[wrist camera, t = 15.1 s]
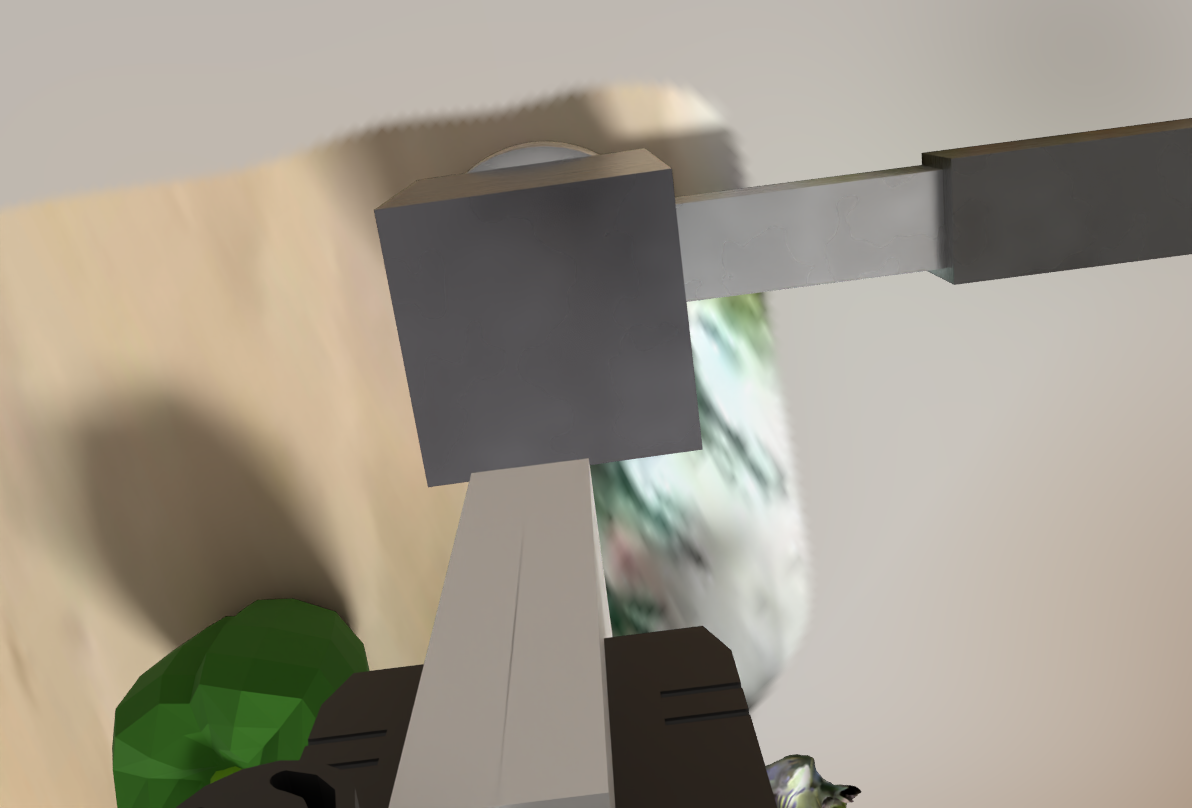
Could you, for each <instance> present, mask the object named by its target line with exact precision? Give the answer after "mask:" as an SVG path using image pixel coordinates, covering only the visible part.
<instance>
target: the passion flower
mask: <svg viewBox="0 0 1192 808" xmlns="http://www.w3.org/2000/svg"><path fill="white" fill-rule="evenodd" d="M765 767H766V771H767V774H768V777H769V781H770V784H771V788H772V791H773V794H774V798H775V801H776V805H777V808H846V805H847V803H848V802H853V800H852V799H853V798H855V796H857V795H858V794H859V793H861V791H860V789H858V788H857V787H855V786H851V785H833V784H832V783H831V782H828V781H826V780H825V779H823V778H822V777H821V776H820V775H819V773H818V772H817V771H816V768H815V762H814V759H813V758H812V757H810V756H808V755H807V756H806V755H798V754H796V755H789V756H786V757H784V758H783V759H781V760H779V761H776V762H774V763H772V764H770V765H767V766H765Z"/></svg>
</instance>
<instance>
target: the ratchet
mask: <svg viewBox="0 0 1192 808" xmlns="http://www.w3.org/2000/svg"><path fill="white" fill-rule="evenodd" d="M593 155H600V154H598V153H596V152H594V151H592V150H589V149H586V148H583V147H580V146H578V145H573V144H568V143H563V142H551V141H541V142H529V143H524V144H519V145H515V146H512V147H509V148H506V149H503V150H500V151H498V152H496V153H494V154H492V155H490V156H488V157H486V158H485V159H483V160H482V161H481V162H479V163H478V164H476V165H475V166H473V167H472V168H471V169H470V170H469V171H468V172H467V173H471V172H478V171H485V170H492V169H500V168H507V167H514V166H521V165H528V164H535V163H542V162H550V161H557V160H564V159H571V158H578V157H585V156H593ZM675 204H676V213H677V222H678V231H679V240H680V249H681V258H682V267H683V276H684V285H685V294H686V302H688V301H696V300H704V299H711V298H719V297H727V296H735V295H742V294H750V293H758V292H766V291H773V290H781V289H789V288H797V287H804V286H811V285H820V284H828V283H835V282H843V281H851V280H858V279H866V278H874V277H881V276H889V275H897V274H905V273H913V272H920V271H928V272H930V273H932V274H934V275H936V276H938V277H940V278H942V279H944V280H946V281H948V282H950V283H952V284H954V285H955V284H963V283H970V282H979V281H986V280H994V279H1002V278H1010V277H1018V276H1025V275H1033V274H1041V273H1049V272H1056V271H1064V270H1072V269H1079V268H1087V267H1095V266H1103V265H1111V264H1118V263H1126V262H1134V261H1142V260H1149V259H1157V258H1164V257H1172V256H1180V255H1188V254H1192V118H1189V119H1180V120H1173V121H1165V122H1157V123H1150V124H1142V125H1134V126H1126V127H1118V128H1111V129H1103V130H1096V131H1088V132H1080V133H1072V134H1065V135H1057V136H1049V137H1042V138H1034V139H1026V140H1019V141H1011V142H1003V143H995V144H987V145H980V146H972V147H964V148H956V149H949V150H941V151H933V152H927V153H922V165H919V166H911V167H904V168H895V169H888V170H880V171H873V172H865V173H857V174H850V175H842V176H835V177H826V178H818V179H811V180H804V181H795V182H788V183H780V184H772V185H764V186H757V187H749V188H742V189H734V190H726V191H719V192H711V193H703V194H695V195H688V196H680V197H675Z"/></svg>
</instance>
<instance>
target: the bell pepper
mask: <svg viewBox="0 0 1192 808" xmlns="http://www.w3.org/2000/svg"><path fill="white" fill-rule="evenodd" d="M366 671H369V666H368V662H367V657H366V653H365V649H364V644H363V643H362V642H361V641H360V639H359V638H358V637H357V636H356V635H355V634H354V633H353V631H352V630H351V629H350V628H349V627H348V626H347V624H346V623H345V622H344V621H343V620H342V619H341V617H340V616H339V615H338V614H337V613H336V612H335V611H332V610H329V609H325V608H322V607H319V606H316V605H313V604H309V603H306V602H303V601H300V600H296V599H293V598H292V599H270V600H257V601H255V602H254V603H252V604H251V605H249V606H248V607H246V608H244V609H243V610H242V611H241V612H239V613H238V614H237V615H236V616H226V617H224V618H222V619H221V620H219V621H217V622H216V623H214V624H212V625H211V626H209V627H207V628H206V629H204V630H203V631H201V632H200V633H199V634H197V635H196V636H194V637H193V638H191V639H190V640H188V641H187V642H185V643H184V644H182V645H181V646H179V647H178V648H176V649H175V650H173V651H172V652H171V653H169V654H168V655H167V656H166V657H164V658H163V659H162V660H160V661H159V662H158V663H156V664H155V665H154V666H153V667H151V668H150V669H149V670H147V671H146V672H145V673H144V674H142V675H141V676H140V677H139V678H138V680H137V681H136V682H135V684H134V685H133V687H132V688H131V689H130V691H129V692H128V693H127V695H126V696H125V697H124V699H123V700H122V701H121V703H120V704H119V705H118V707H117V708H116V711H115V722H114V734H113V745H112V752H113V775H114V783H115V791H116V799H117V808H176V807H177V806H178V805H180V804H181V803H182V802H184V801H185V800H187V799H188V798H189V797H191V796H192V795H193V794H195V793H196V792H198V791H199V790H200V789H202V788H203V787H204V786H206V785H209V784H211V783H213V782H215V781H217V780H220V779H222V778H224V777H226V776H228V775H231V774H233V773H235V772H237V771H239V770H242V769H245V768H250V767H254V766H258V765H262V764H267V763H271V762H275V761H279V760H300V758H301V755H302V753H303V750H304V748H305V746H308V737H309V735H310V732H311V730H312V727H313V725H314V722H315V720H316V717H317V715H318V712H319V710H320V707H321V705H322V704H323V703H324V702H325V701H326V700H327V699H328V698H329V697H330V696H331V695H332V694H333V693H334V692H335V691H336V690H337V689H338V688H339V687H340V686H341V685H342V684H343V683H344V682H345V681H346V680H347V679H348V678H349V677H350V676H351V675H352V674H353V673H358V672H366Z"/></svg>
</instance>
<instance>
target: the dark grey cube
mask: <svg viewBox="0 0 1192 808" xmlns="http://www.w3.org/2000/svg"><path fill="white" fill-rule="evenodd" d="M374 212H375V218H376V223H377V228H378V233H379V238H380V243H381V248H382V253H383V259H384V264H385V269H386V274H387V279H388V284H389V289H390V294H391V300H392V305H393V310H394V315H395V320H396V325H397V330H398V335H399V341H400V346H401V351H402V356H403V361H404V366H405V371H406V376H407V382H408V387H409V392H410V397H411V402H412V407H413V412H414V417H415V423H416V428H417V433H418V438H419V443H420V448H421V453H422V458H423V464H424V469H425V474H426V479H427V484H428V487H433V486H440V485H448V484H455V483H462V482H469V481H470V477H471V473H476V472H484V471H492V470H500V469H508V468H516V467H524V466H532V465H540V464H548V463H556V462H564V461H572V460H580V459H587V458H589V465H593V464H600V463H607V462H615V461H622V460H629V459H636V458H644V457H651V456H658V455H665V454H673V453H680V452H687V451H694V450H702V440H701V431H700V422H699V413H698V403H697V394H696V385H695V376H694V367H693V358H692V349H691V340H690V331H689V322H688V313H687V304H686V294H685V285H684V276H683V267H682V258H681V249H680V240H679V231H678V222H677V213H676V204H675V195H674V185H673V176H672V168H670V167H669V166H668V165H666V164H665V163H664V162H662V161H661V160H660V159H658V158H657V157H656V156H654V155H653V154H652V153H650V152H649V151H648V150H646V149H645V148H643V149H635V150H628V151H621V152H614V153H607V154H600V155H593V156H585V157H578V158H571V159H564V160H557V161H550V162H542V163H535V164H528V165H521V166H514V167H507V168H500V169H492V170H485V171H478V172H471V173H464V174H457V175H450V176H442V177H435V178H428V179H421V180H417V181H416V182H414V183H413V184H411V185H410V186H408V187H407V188H406V189H404V190H403V191H401V192H400V193H398V194H397V195H395V196H394V197H392V198H391V199H389V200H388V201H387V202H385V203H384V204H382V205H381V206H379V207H378V208H376V209H375V210H374Z"/></svg>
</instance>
